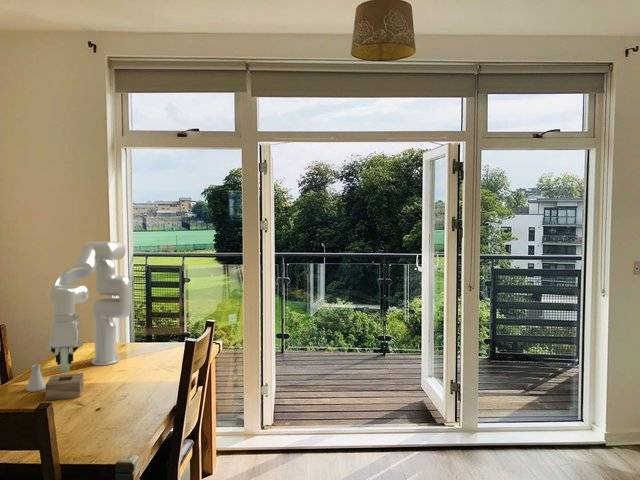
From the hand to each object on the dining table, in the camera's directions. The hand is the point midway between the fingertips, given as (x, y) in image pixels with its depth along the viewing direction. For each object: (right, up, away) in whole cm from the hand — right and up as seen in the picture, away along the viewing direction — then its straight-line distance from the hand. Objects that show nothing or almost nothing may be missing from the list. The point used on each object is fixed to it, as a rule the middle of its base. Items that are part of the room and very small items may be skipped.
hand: (64, 363), depth 196 cm
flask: (-15, -12, +5) cm, 20 cm away
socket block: (0, -13, +1) cm, 13 cm away
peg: (0, -3, 0) cm, 3 cm away
